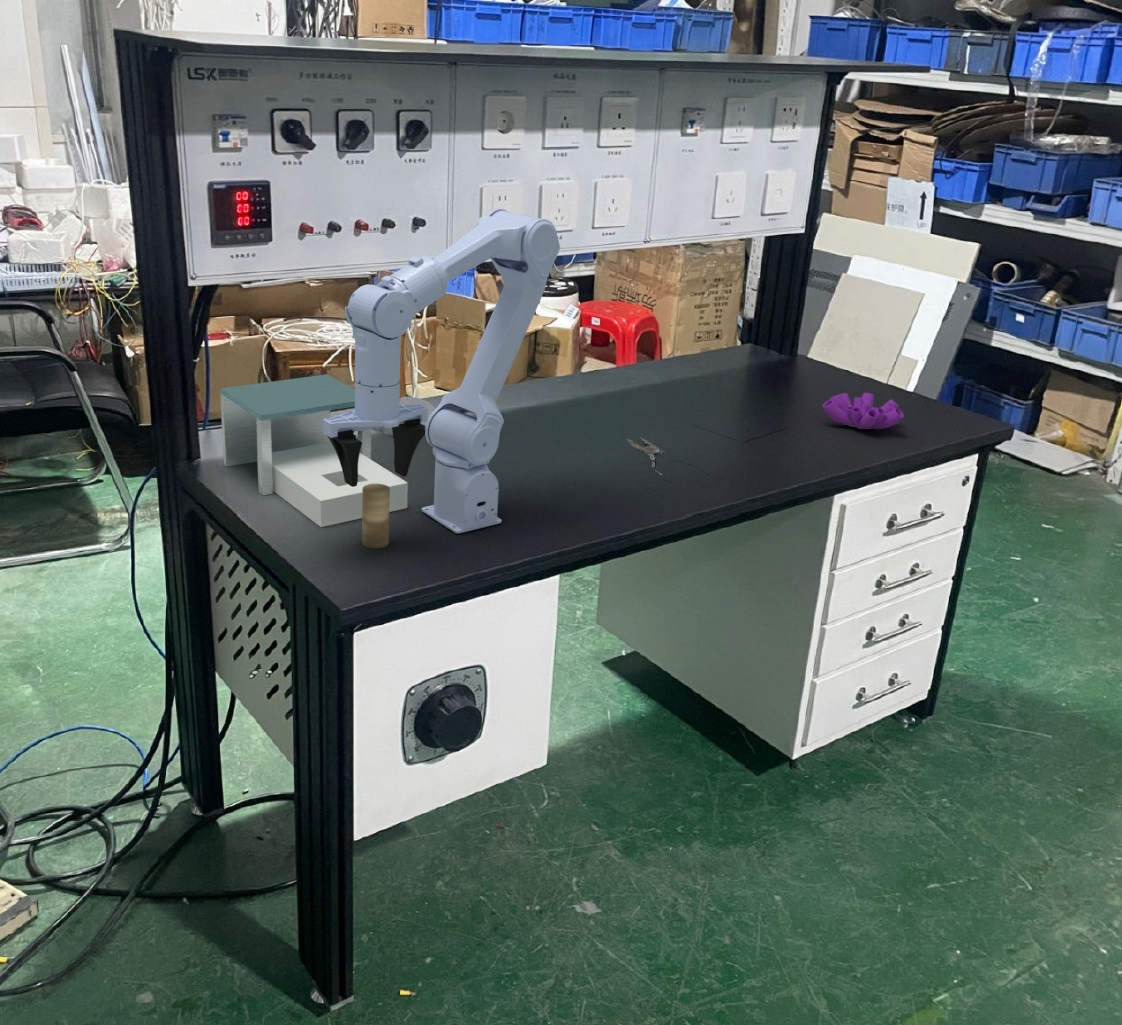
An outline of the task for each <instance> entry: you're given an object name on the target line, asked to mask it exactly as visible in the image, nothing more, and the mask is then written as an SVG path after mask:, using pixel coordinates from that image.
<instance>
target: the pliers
mask: <svg viewBox="0 0 1122 1025" xmlns="http://www.w3.org/2000/svg"><path fill="white" fill-rule="evenodd" d="M639 438H640V440H641V441H642V442H644V443H643V445H644V444H645V445H650V446H645V445H644V446H643V445H640V443H637V442H634V441H633V440H631V439H629V438H626V439H625V441H626V440H627V442H628V443H629V444H630V445H632V446H633V447H635V448H637V449H638V450H640V451H642V452H645V453H646V454H648V455H649V456H650V459H651V460H655V458H656V456H655V457H654V455H653V454H654V453H660V452H661V454H662V452H664V453H665V451H664V450H662V449H661V448H659V447H658V446H657V445H655V444H653V443H651V442H649V441H648V440H646V439H645V438H643V437H641V436H640V437H639ZM639 438H638V439H639ZM640 440H639V441H640ZM641 441H640V442H641ZM627 442H626V443H627ZM642 442H641V443H642ZM628 443H627V444H628ZM629 444H628V445H629ZM630 445H629V446H630ZM638 450H637V451H638ZM640 451H639V452H640ZM642 452H641V453H642ZM652 463H653V464H652V467H655V463H654V462H652ZM655 471H656V470H655ZM657 471H658V470H657ZM657 471H656V472H657ZM658 473H659V474H660V475H663V474H662V473H660V472H659V471H658Z"/></svg>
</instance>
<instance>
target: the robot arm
mask: <svg viewBox="0 0 1122 1025" xmlns="http://www.w3.org/2000/svg"><path fill="white" fill-rule="evenodd" d="M557 232H558V231H557V229H556V226H555V225H554V224H553V222H552V221H550V220H549V219H547V218H538V217H533V216H528V215H526V214H525V215H524V214H521V213H516V212H511V211H508V210H506V209H504V208H495V209H493V210H491V211H490V212H488V213H487V214H486V215H484V216H483V215H482V216H481V217H479V218H478V221H477V223H476V227H474V228H472V229H471V231H468V232H467V233H466V234H465V235H463V237H461V238H460V239H459V240H457V241H456V242H454V243H453V244H451V245H450V246H449V247H447V248H446V249H445V250H443V251H442V252H441V253H439V254H438V255H437V256H435V257H434V258H431V257H429V256H425V255H423V256H422V255H421V256H416V255H414V256H412V257H411V258H409V259H407V263H408V264H407V265H405V266H403V267H402V268H400V269H398V270H397V271H395V272H394V273H392V274H390V275H385V276H383V277H381V278H380V281H379V282H378V283H377V284H376V285H374V284H369V283H368V284H365V285H364V284H363V285H362V286H360V287H358V288H357V289H356V290H354V292H353V293H352V294H351V296H350V297H349V300H348V304H347V306H345V307H344V314H345V318H346V321H347V322H348V323H349V324H350V325H351V328H352V338H353V339H354V389H355V406H354V409H353V410H349V411H346V412H344V413H341V414H339V415H335V416H332V417H331V416H330V418H327V419H323V433H324V434H326V435H327V436H328V438H329V440H330V442H331V443H332V445H333V447H334V449H335V451H336V453H337V456H338V458H339V461H340V464H341V467H342V471H343V475H344V480H345V483H347V484H348V485H350V486H351V487H354V486H357V482H358V460H359V454H360V449H361V446H362V442H361V441H359V440H358V438H357V435H356V434H355V432H356V433H357V432H358V431H362V430H368V429H371V430H372V429H374V428H380V427H385V428H391V427H392V432H393V447H394V448H393V450H394V451H393V452H394V454H393V455H394V456H393V457H394V458H393V465H394V472H395V473H396V474H398V475H399V476H401V477H403V478H404V477H407V476H408V473H409V470H410V465H411V463H412V459H413V456H414V455H415V453H416V452H415V451H416V450H417V447H418V446H419V444H420V442H421V440H422V438H424V436H425V439H426V442H427V443H428V444H429V445H430V446H431V447H432V454H433V455H434V457H435V463H434V464H435V466H434V489H433V490H434V493H433V494H434V496H433V504H431V505H428V506H423V507H422V508H421V512H422V513H424V514H426V516H429V517H430V518H431V519H434V520H435V521H436V522H438V523H439V524H440V525H443V527H445V528H447V529H448V530H450V531H452V532H453V533H454V534H461V533H467V532H471V531H474V530H479V529H482V528H487V527H490V526H495V525H498V524H501V523H502V519H501V518H500V517H498V508H499V507H498V505H499V490H500V489H499V488H500V487H499V485H500V484H499V480H498V478H497V477H496V475H495V474H494V473H492V472H491V470H490V469H489V467H488V464H490V461H491V460H492V459H493V457H494V456H495V454H496V452H497V450H498V447H499V443H500V435H501V434H500V433H501V430H502V427H503V425H504V423H505V420H504V418H503V414H501V411H500V409H499V408H498V405H497V400H498V398H499V395H500V393H501V392H502V389H503V387H504V384H505V382H506V380H507V378H508V375H509V373H510V371H511V368H512V366H513V364H514V362H515V360H516V357H517V355H518V352H519V350H520V347H521V346H522V343H523V341H524V339H525V336H526V334H527V332H528V330H529V327H530V324H531V322H532V320H533V318H534V316H535V313H536V310H537V309H538V306H539V304H540V302H541V299H542V298H543V294H544V292H545V290H546V285H547V282H548V277H549V276H550V273H551V271H552V268H553V266H554V263H555V261H556V259H557V257H558V254H559V252H560V249H561V244H560V240H559V236H558V233H557ZM489 260H490V261H491V262H492V264H493V266H494V268H495V269H496V271H497V272H498V274H499V275H500V276H501V279H502V282H503V288H502V290H501V292H500V295H499V298H498V299H497V301H496V304H495V306H494V309H493V311H492V314H491V315H490V318H489V320H488V322H487V325H486V327H485V329H484V332H483V334H482V336H481V338H480V341H479V343H478V345H477V348H476V349H475V350H476V351H475V352H474V355H473V357H472V358H471V361H470V364H469V366H468V369H467V371H466V373H465V375H464V378H463V380H462V382H461V385H460V386H459V387H458V388H456V389H453V390H451V391H449V392H447V393H446V394H444V395H443V396H442V398H441V401H440V402H439V404H438V406H436V409H435V410H434V411H433V412H432V414H431V415H430V416H429V418H428V408H427V407H426V406H424V405H422V404H415V405H399V404H400V398H401V397H400V394H401V392H400V391H401V355H402V354H401V353H402V352H401V350H402V349H401V348H402V346H401V345H402V343H401V342H402V336H403V335H404V334H405V333H406V332H407V331H408V329H409V327H410V326H411V323H412V320H413V319H414V318H416V317H417V314H418V313H420V312H421V311H422V310H424V309H425V308H428V306H430V305H432V304H434V303H435V302H436V301H438V300H439V299H441V298H442V297H443V296H445V295H446V293H447V292H448V289H449V288H448V286H449V282H451V281H452V280H454V279H455V278H457V277H460V276H462V275H463V274H465V273H466V272H469V271H470V270H472V269H474V268H476V267H477V266H479V265H480V264H483V263H485V262H486V261H489ZM467 413H470V414H473V415H476V417H475V416H472V415H469V414H467ZM421 422H427V423H426V427H425V426H424V425H422V424H420V423H421Z"/></svg>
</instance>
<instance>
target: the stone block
mask: <svg viewBox="0 0 1122 1025" xmlns="http://www.w3.org/2000/svg"><path fill="white" fill-rule="evenodd" d="M415 404H422V405H424V406H426V407H427V408H428V418H429V416H430V415H431V414H432V412H433V411H434V410H435V409H436V408H437V406H434V405H433V404H431V403H430V402H429V401H427V400H424V399H422V398H420V397H415V396H402V397H400V404H399V405H415ZM426 423H427V422H421V423H420V424H422V425H424V426H425V427H426ZM371 431H375V432H376V431H377V432H380V433H383V434H385V435H386V436H388V437H393V432H392V427H391V428H385V427H380V428H374V429H371Z"/></svg>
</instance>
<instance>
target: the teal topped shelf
mask: <svg viewBox="0 0 1122 1025" xmlns="http://www.w3.org/2000/svg"><path fill="white" fill-rule="evenodd" d="M219 393H220V394H219V395H220V411H221V412H220V414H221V415H220V416H221V434H222V435H221V437H222V438H221V439H222V455H223V456H222V457H223V459H222V460H223V461H222V462H223V466H225V467H232V466H238V465H244V464H249V463H256V462H257V480H258V493H259V494H261V495H262V496H266V495H267V496H268V495H271V494H272V495H273V494H274V491H273V484H272V452H277V451H283V450H289V449H295V448H300V447H306V446H312V445H318V444H323V443H329V442H330V440H329V438H328V436H327V435H326V434H324V433H323V419H327V418H331V411H335V410H340V409H347V408H353V407H354V408H355V388H353V387H351V386H349V385H347V384H345V383H343V382H342V381H340V380H338V379H336V378H335V377H333V376H331V375H329V374H328V373H327V374H326V373H325V374H321V375H312V376H303V377H296V378H289V379H281V380H275V381H273V380H272V381H267V382H260V383H258V382H257V383H253V384H251V383H250V384H243V385H237V386H227V387H221V388H220V389H219ZM357 439H358V440H359V441H361V442H362V446H361V449H360V453H361V454H363V455H364V456H366V457H367V458H369V459H371V460H372V458H371V457H372V455H371V454H372V429H368V430H362V431H357ZM257 455H258V459H257Z"/></svg>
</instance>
